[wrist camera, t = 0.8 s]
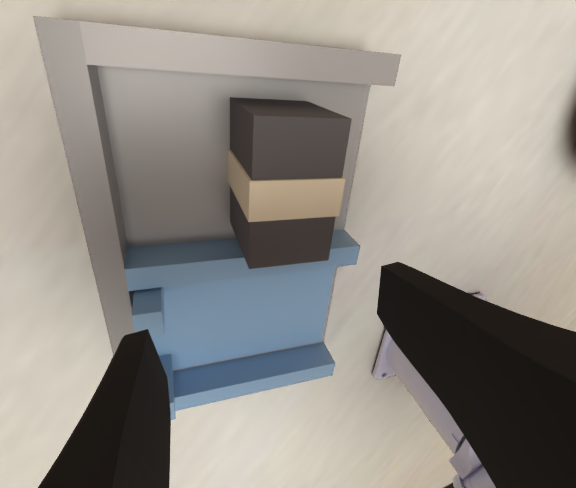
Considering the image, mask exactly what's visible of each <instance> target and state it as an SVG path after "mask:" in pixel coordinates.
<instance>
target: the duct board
mask: <svg viewBox="0 0 576 488" xmlns="http://www.w3.org/2000/svg"><path fill="white" fill-rule="evenodd" d="M33 18H34V22H35V26H36V30H37V35H38V39H39V43H40V47H41V52H42V56H43V60H44V64H45V68H46V73H47V77H48V81H49V85H50V90H51V94H52V98H53V102H54V106H55V111H56V115H57V119H58V123H59V128H60V132H61V136H62V140H63V144H64V149H65V153H66V157H67V161H68V166H69V170H70V174H71V178H72V182H73V187H74V191H75V195H76V199H77V204H78V208H79V212H80V216H81V220H82V225H83V229H84V233H85V237H86V242H87V246H88V250H89V254H90V258H91V263H92V267H93V271H94V275H95V280H96V284H97V288H98V292H99V296H100V301H101V305H102V309H103V313H104V318H105V322H106V326H107V330H108V334H109V339H110V343H111V347H112V351H113V356H114V354H115V352H116V350H117V348H118V345H119V343H120V341H121V339H122V338H123V337H124V335H127V334H131V333H135V332H139V331H142V330H146V329H148V330H149V333H150V335H151V338H152V340H153V343H154V345H155V348H156V350H157V353H158V355H159V358H160V360H161V363H162V365H163V368H164V370H165V373H166V375H167V379H168V389H169V399H170V411H171V420H173V419H175V411H177V410H182V409H186V408H191V407H195V406H199V405H204V404H208V403H213V402H217V401H221V400H226V399H230V398H234V397H239V396H243V395H248V394H252V393H256V392H261V391H265V390H270V389H274V388H278V387H283V386H287V385H292V384H296V383H300V382H305V381H309V380H313V379H318V378H322V377H327V376H331V375H333V371H334V366H335V362H334V360H333V358H332V357H331V355H330V353H329V351H328V349H327V348H326V346H325V344H324V336H325V331H326V325H327V320H328V314H329V309H330V303H331V298H332V292H333V287H334V281H335V276H336V270H337V267H338V266H347V265H355V264H356V263H357V259H358V254H359V249H360V245H359V244H358V243H357V242H356V241H355V240H354V239H353V238H352V237H351V236H350V235H349V234H348V233H347V232H346V231H345V230H344V226H345V221H346V215H347V210H348V204H349V199H350V193H351V188H352V182H353V177H354V171H355V166H356V160H357V155H358V149H359V144H360V138H361V133H362V127H363V122H364V116H365V111H366V105H367V100H368V94H369V89H370V85H383V86H395V81H396V76H397V72H398V67H399V62H400V58H401V55H399V54H389V53H380V52H370V51H361V50H351V49H342V48H332V47H323V46H313V45H304V44H294V43H285V42H275V41H266V40H256V39H247V38H237V37H228V36H218V35H209V34H199V33H190V32H180V31H171V30H161V29H152V28H142V27H133V26H123V25H114V24H104V23H95V22H85V21H76V20H66V19H57V18H47V17H38V16H33ZM230 97H235V98H255V99H275V100H296V101H308V102H311V103H313V104H316V105H318V106H321V107H323V108H326V109H328V110H331V111H333V112H336V113H338V114H341V115H343V116H346V117H348V118H351V119H352V121H351V127H350V133H349V139H348V145H347V151H346V157H345V164H344V170H343V176H342V177H344V178H345V185H344V191H343V197H342V202H341V208H340V214H339V216H336V218H335V224H334V230H333V236H332V242H331V248H330V254H329V260H327V261H318V262H309V263H300V264H291V265H282V266H273V267H264V268H255V269H249V268H248V265H247V263H246V260H245V258H244V255H243V253H242V250H241V248H240V245H239V243H238V240H237V238H236V235H235V233H234V230H233V228H232V226H231V223H230V184H229V182H228V148H230Z"/></svg>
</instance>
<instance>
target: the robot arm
mask: <svg viewBox="0 0 576 488" xmlns="http://www.w3.org/2000/svg"><path fill="white" fill-rule="evenodd" d="M485 300H486V296H485V295H483V294H482V293H480V294H474V295H471V294H468V293H466V292H464V291H462V290H459V289H457V288H455V287H453V286H451V285H448V284H446V283H444V282H442V281H440V280H438V279H435V278H433V277H431V276H429V275H427V274H425V273H423V272H420V271H418V270H416V269H414V268H412V267H409V266H407V265H405V264H402V263H400V262H396V263H392V264H388V265H385V266H381V277H380V287H379V298H378V308H377V314H378V316H379V318H380V320H381V321H382V323H383V325H384V327H385V328H386V331H385V334H384V337H383V341H382V344H381V347H380V351H379V354H378V357H377V361H376V364H375V368H374V371H373V377H374V378H375V379H376V380H378V379H382V378H386V377H391V376H395V375H397V376H398V377H399V379H400V380H401V382H402V383H403V384H404V386H405V387H406V388H407V390H408V391H409V393H410V394H411V395H412V397H413V398H414V400H415V401H416V402H417V404H418V405H419V407H420V408H421V409H422V411H423V412H424V414H425V415H426V416H427V418H428V419H429V421H430V422H431V423H432V425H433V426H434V427H435V429H436V430H437V432H438V433H439V434H440V436H441V437H442V439H443V440H444V441H445V443H446V444H447V446H448V447H449V448H450V450H451V451H452V453H453V454H454V456H453V457H452V458H451V459H450V460H449V461H450V463H451V464H452V466H453V467H454V469H455V470H456V471H457V473H458V474H457V475H455V477H454V478H453V485H454V488H576V332H574V331H570V330H567V329H563V328H560V327H557V326H553V325H550V324H547V323H544V322H541V321H538V320H535V319H532V318H529V317H527V316H524V315H521V314H518V313H515V312H513V311H510V310H507V309H505V308H502V307H500V306H497V305H495V304H492V303H490V302H487V301H485ZM170 426H171V411H170V399H169V389H168V379H167V375H166V373H165V370H164V368H163V365H162V363H161V360H160V358H159V355H158V353H157V350H156V348H155V345H154V343H153V340H152V338H151V335H150V333H149V330H148V329H146V330H142V331H139V332H135V333H131V334H127V335H124V337H123V338H122V339H121V341H120V343H119V345H118V348H117V350H116V352H115V354H114V356H113V358H112V360H111V362H110V364H109V366H108V368H107V370H106V372H105V374H104V376H103V378H102V380H101V382H100V384H99V386H98V388H97V390H96V392H95V394H94V395H93V397H92V399H91V401H90V403H89V405H88V407H87V408H86V410H85V412H84V414H83V416H82V417H81V419H80V421H79V423H78V424H77V426H76V428H75V429H74V431H73V433H72V434H71V436H70V438H69V439H68V441H67V443H66V444H65V446H64V448H63V449H62V451H61V453H60V454H59V456H58V458H57V459H56V461H55V462H54V464H53V465H52V467H51V469H50V470H49V472H48V473H47V475H46V476H45V478H44V479H43V481H42V482H41V484H40V485H39V487H38V488H169V472H170Z"/></svg>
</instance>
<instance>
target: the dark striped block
mask: <svg viewBox="0 0 576 488" xmlns="http://www.w3.org/2000/svg"><path fill="white" fill-rule="evenodd" d="M351 121H352V119H351V118H348V117H346V116H343V115H341V114H338V113H336V112H333V111H331V110H328V109H326V108H323V107H321V106H318V105H316V104H313V103H311V102H308V101H296V100H275V99H255V98H235V97H230V148H228V182H229V184H230V223H231V226H232V228H233V230H234V233H235V235H236V238H237V240H238V243H239V245H240V248H241V250H242V253H243V255H244V258H245V260H246V263H247V265H248V268H249V269H255V268H264V267H273V266H282V265H291V264H300V263H309V262H318V261H327V260H329V254H330V248H331V242H332V236H333V230H334V224H335V218H336V216H339V214H340V208H341V202H342V197H343V191H344V185H345V178H344V177H342V176H343V170H344V164H345V157H346V151H347V145H348V139H349V133H350V127H351Z"/></svg>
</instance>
